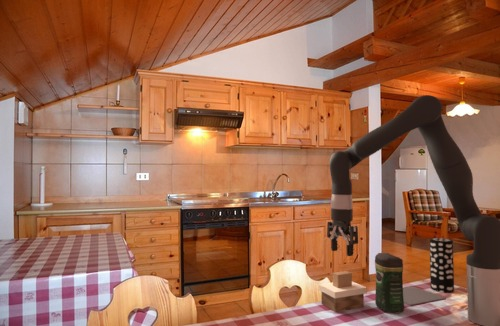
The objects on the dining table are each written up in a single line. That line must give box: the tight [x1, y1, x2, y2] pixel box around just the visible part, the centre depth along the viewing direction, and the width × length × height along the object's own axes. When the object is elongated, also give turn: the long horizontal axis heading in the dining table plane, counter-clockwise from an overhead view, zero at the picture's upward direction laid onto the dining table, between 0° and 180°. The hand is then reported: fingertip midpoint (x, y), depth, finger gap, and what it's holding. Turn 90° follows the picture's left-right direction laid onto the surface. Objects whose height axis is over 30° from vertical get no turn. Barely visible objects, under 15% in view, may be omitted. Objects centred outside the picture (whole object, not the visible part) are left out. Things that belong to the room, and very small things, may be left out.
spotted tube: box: [429, 237, 455, 294], centre depth 137 cm, size 8×8×20 cm
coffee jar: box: [374, 252, 405, 314], centre depth 117 cm, size 10×8×19 cm
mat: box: [403, 285, 447, 307], centre depth 129 cm, size 18×15×1 cm
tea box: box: [321, 291, 365, 313], centre depth 119 cm, size 12×8×6 cm, turn 113°
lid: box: [318, 270, 367, 298], centre depth 119 cm, size 13×9×6 cm
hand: (341, 253), depth 120 cm, fingers open, 8 cm apart
